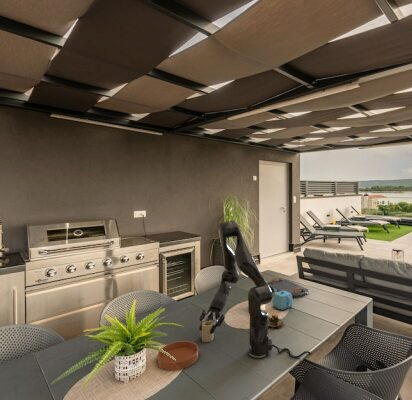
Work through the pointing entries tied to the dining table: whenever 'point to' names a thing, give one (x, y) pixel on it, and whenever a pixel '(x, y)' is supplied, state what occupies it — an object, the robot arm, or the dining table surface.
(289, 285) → the serving tray
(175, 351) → the pan
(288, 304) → the teapot
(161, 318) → the dining table surface
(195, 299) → the dining table surface
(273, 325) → the burger
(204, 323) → the jar
